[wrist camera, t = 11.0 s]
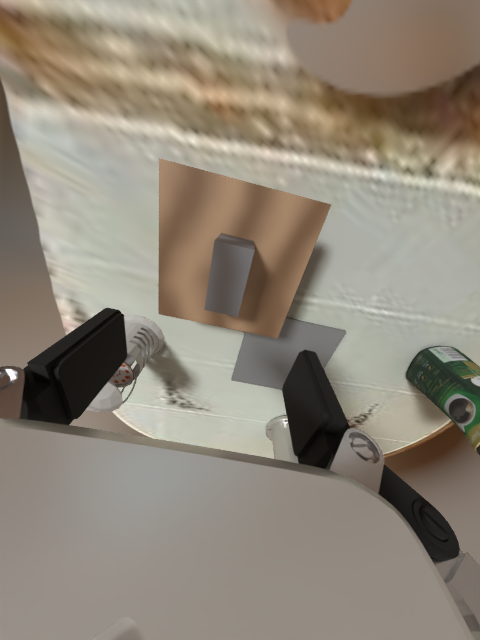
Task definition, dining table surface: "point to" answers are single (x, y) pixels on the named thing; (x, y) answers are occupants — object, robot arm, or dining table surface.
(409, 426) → the dining table surface
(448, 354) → the coffee jar
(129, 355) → the lantern
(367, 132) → the dining table surface
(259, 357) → the mat
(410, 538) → the robot arm
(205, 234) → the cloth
